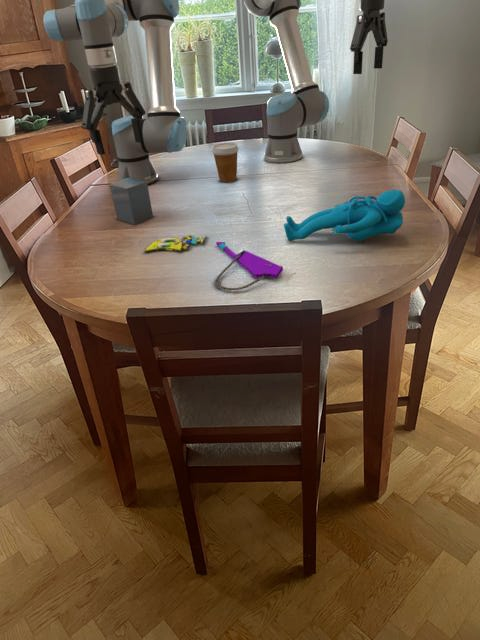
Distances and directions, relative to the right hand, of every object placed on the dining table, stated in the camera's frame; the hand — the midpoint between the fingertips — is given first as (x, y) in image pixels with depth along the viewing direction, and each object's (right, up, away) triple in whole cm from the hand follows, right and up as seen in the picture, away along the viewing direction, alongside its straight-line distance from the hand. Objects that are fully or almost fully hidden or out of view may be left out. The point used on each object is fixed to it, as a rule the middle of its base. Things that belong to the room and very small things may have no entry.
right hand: (367, 71), depth 162 cm
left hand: (-78, -34, -23) cm, 88 cm away
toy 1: (-61, -64, -32) cm, 94 cm away
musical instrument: (-45, -72, -47) cm, 97 cm away
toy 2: (-17, -63, -37) cm, 75 cm away
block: (-76, -52, -12) cm, 93 cm away
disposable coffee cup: (-48, -33, +14) cm, 60 cm away
